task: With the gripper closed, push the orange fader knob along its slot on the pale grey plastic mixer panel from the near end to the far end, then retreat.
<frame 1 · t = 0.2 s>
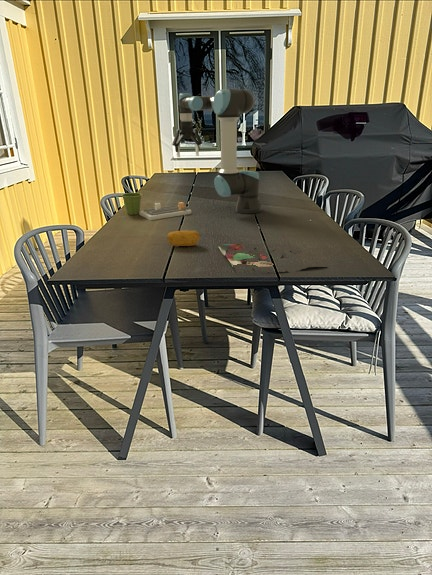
hand: (188, 156, 257), 28 cm above the table, fingers open, 13 cm apart
fader knob: (181, 205, 232), point 4 cm above the table, slide at 0.0 cm
fader panel: (165, 214, 233), on the table
potato: (183, 246, 178), on the table
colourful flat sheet: (268, 259, 163), on the table
plant pot: (133, 214, 235), on the table
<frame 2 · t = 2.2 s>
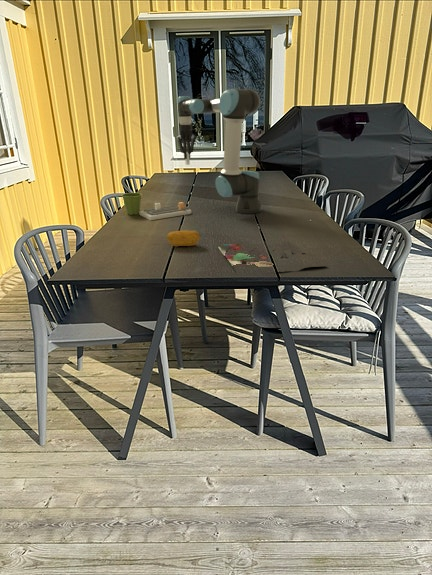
hand: (187, 164, 252), 24 cm above the table, fingers closed
nothing on the table moved.
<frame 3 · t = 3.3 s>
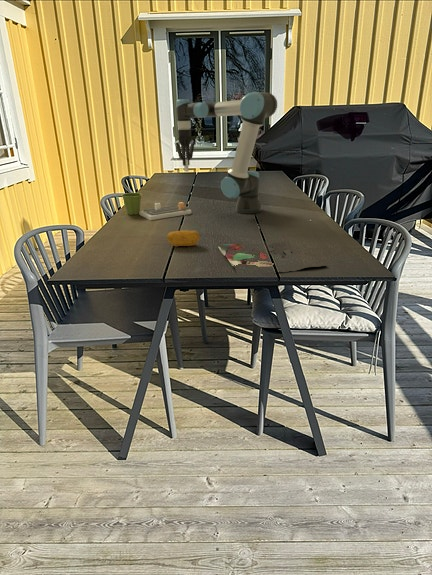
hand: (186, 171, 238), 22 cm above the table, fingers closed
nothing on the table moved.
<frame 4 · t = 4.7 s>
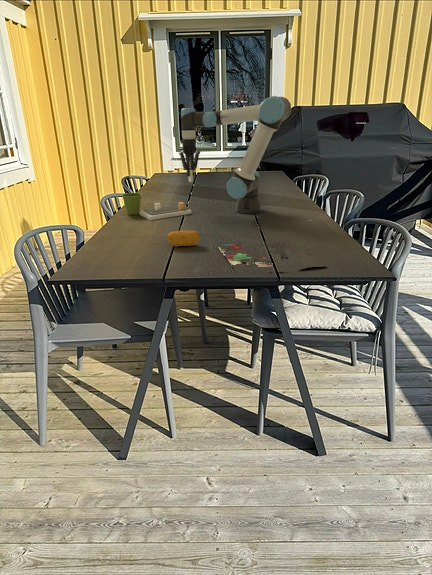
hand: (190, 181, 230), 17 cm above the table, fingers closed
nothing on the table moved.
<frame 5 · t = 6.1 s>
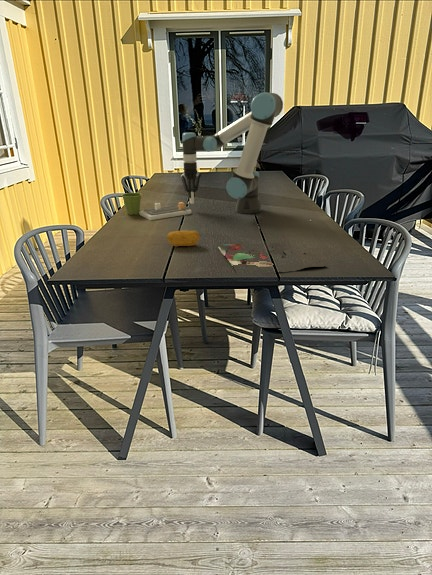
hand: (191, 203, 235), 5 cm above the table, fingers closed
nothing on the table moved.
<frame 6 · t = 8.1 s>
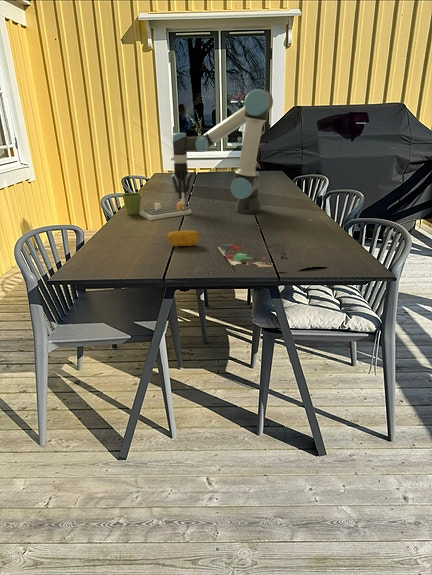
hand: (182, 204, 233), 5 cm above the table, fingers closed
fader knob: (179, 206, 232), point 4 cm above the table, slide at 1.0 cm, touching gripper
everything else where it was.
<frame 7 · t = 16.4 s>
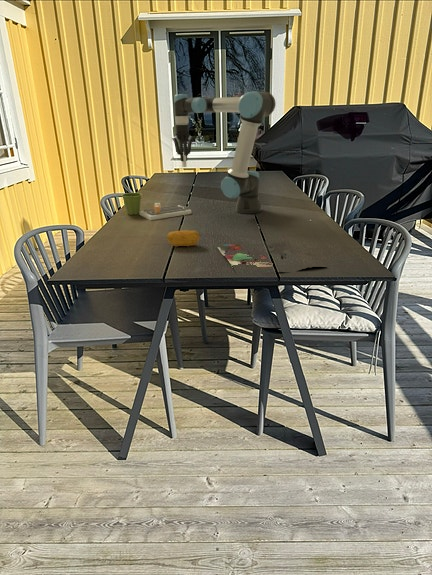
hand: (184, 166, 237), 24 cm above the table, fingers closed
fader knob: (157, 209, 225), point 4 cm above the table, slide at 15.4 cm
everything else where it was.
at the end: fader knob slide at 15.4 cm; fader knob touching nothing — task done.
